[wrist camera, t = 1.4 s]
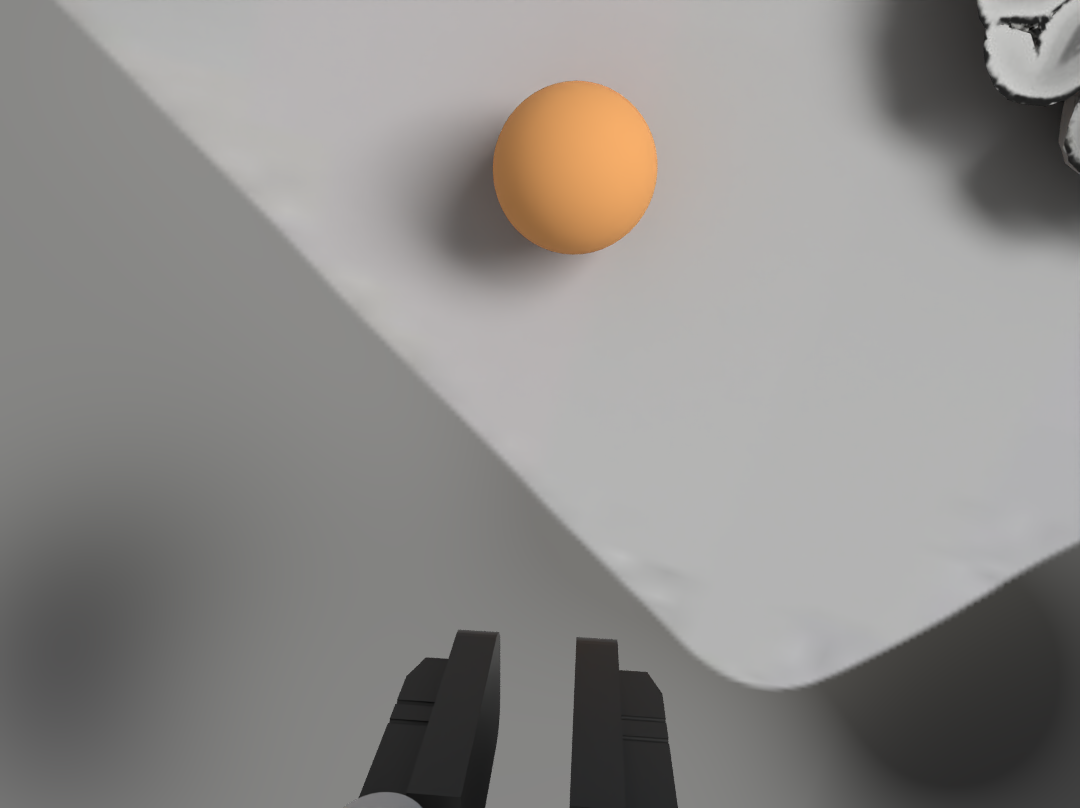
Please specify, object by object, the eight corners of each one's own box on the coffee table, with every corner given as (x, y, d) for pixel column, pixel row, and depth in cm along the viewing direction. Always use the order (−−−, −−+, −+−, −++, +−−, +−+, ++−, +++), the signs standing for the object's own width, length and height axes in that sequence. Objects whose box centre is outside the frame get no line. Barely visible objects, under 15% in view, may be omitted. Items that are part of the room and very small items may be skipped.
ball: (503, 93, 25) (480, 65, 20) (655, 94, 25) (671, 67, 20) (503, 246, 27) (481, 258, 22) (645, 250, 26) (658, 263, 21)
